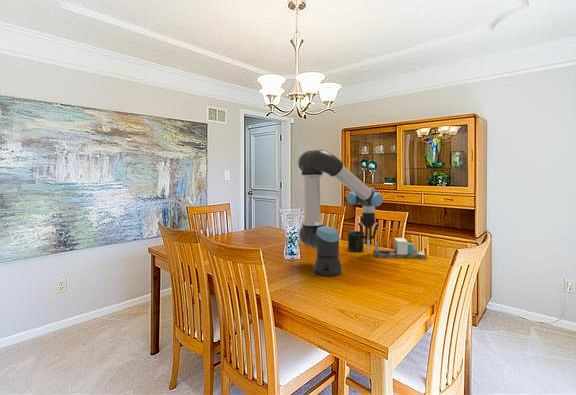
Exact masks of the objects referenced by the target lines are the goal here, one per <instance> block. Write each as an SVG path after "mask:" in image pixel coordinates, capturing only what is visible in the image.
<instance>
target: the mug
mask: <svg viewBox="0 0 576 395" xmlns="http://www.w3.org/2000/svg"><path fill="white" fill-rule="evenodd" d="M363 233H364V234H365V231H363ZM347 235H348V237H347V241H348V242H347V248H348V251H349V252H354V253H362V252H363V251H364V245H365V244H364V243H365V239H364V238H362V234H361V231H357V230H352V231H348V232H347Z"/></svg>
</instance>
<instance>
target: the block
mask: <svg viewBox="0 0 576 395" xmlns="http://www.w3.org/2000/svg"><path fill="white" fill-rule="evenodd" d="M413 248H414V244H413V243H412V242H408V252H413Z"/></svg>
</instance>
